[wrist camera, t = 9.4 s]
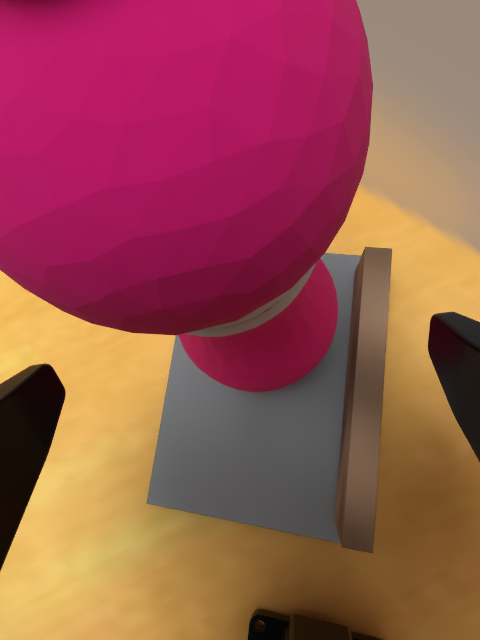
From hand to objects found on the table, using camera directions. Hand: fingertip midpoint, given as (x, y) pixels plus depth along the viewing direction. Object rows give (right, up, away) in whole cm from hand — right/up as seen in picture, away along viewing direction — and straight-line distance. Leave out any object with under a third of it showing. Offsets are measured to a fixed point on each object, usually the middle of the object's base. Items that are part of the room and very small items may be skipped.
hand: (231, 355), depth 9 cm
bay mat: (+2, -2, +12) cm, 12 cm away
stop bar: (+6, -3, +11) cm, 13 cm away
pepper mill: (+2, 0, +12) cm, 13 cm away
